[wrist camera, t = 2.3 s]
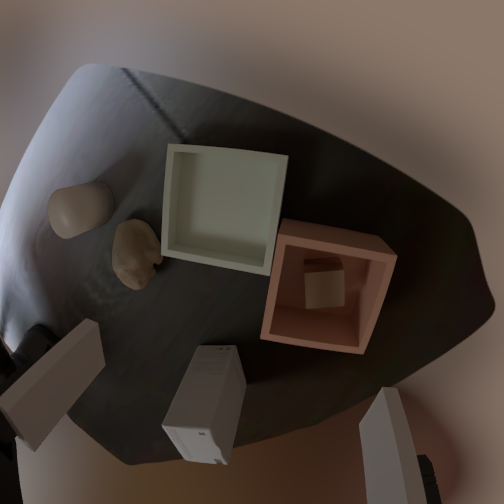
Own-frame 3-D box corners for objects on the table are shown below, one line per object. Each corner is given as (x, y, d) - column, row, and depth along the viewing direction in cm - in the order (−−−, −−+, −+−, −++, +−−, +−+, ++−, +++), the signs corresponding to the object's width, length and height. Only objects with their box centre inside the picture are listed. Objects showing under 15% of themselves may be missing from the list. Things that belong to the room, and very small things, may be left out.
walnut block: (306, 291, 33) (306, 308, 29) (303, 259, 32) (303, 273, 28) (340, 289, 32) (344, 306, 28) (339, 256, 31) (344, 270, 27)
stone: (126, 247, 39) (130, 299, 35) (100, 226, 33) (100, 283, 29) (166, 231, 38) (174, 283, 35) (143, 206, 33) (148, 264, 29)
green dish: (171, 247, 34) (161, 255, 32) (179, 144, 30) (168, 143, 28) (272, 265, 33) (269, 275, 30) (289, 156, 29) (288, 155, 26)
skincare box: (198, 344, 39) (155, 421, 25) (239, 343, 37) (209, 428, 23) (212, 386, 41) (181, 461, 27) (250, 387, 40) (228, 468, 26)
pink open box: (267, 305, 35) (260, 338, 28) (282, 217, 31) (277, 233, 25) (354, 320, 34) (363, 354, 27) (378, 235, 30) (397, 255, 23)
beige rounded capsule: (82, 222, 36) (49, 235, 29) (82, 180, 34) (47, 187, 27) (114, 227, 35) (81, 242, 28) (114, 182, 33) (79, 190, 27)
